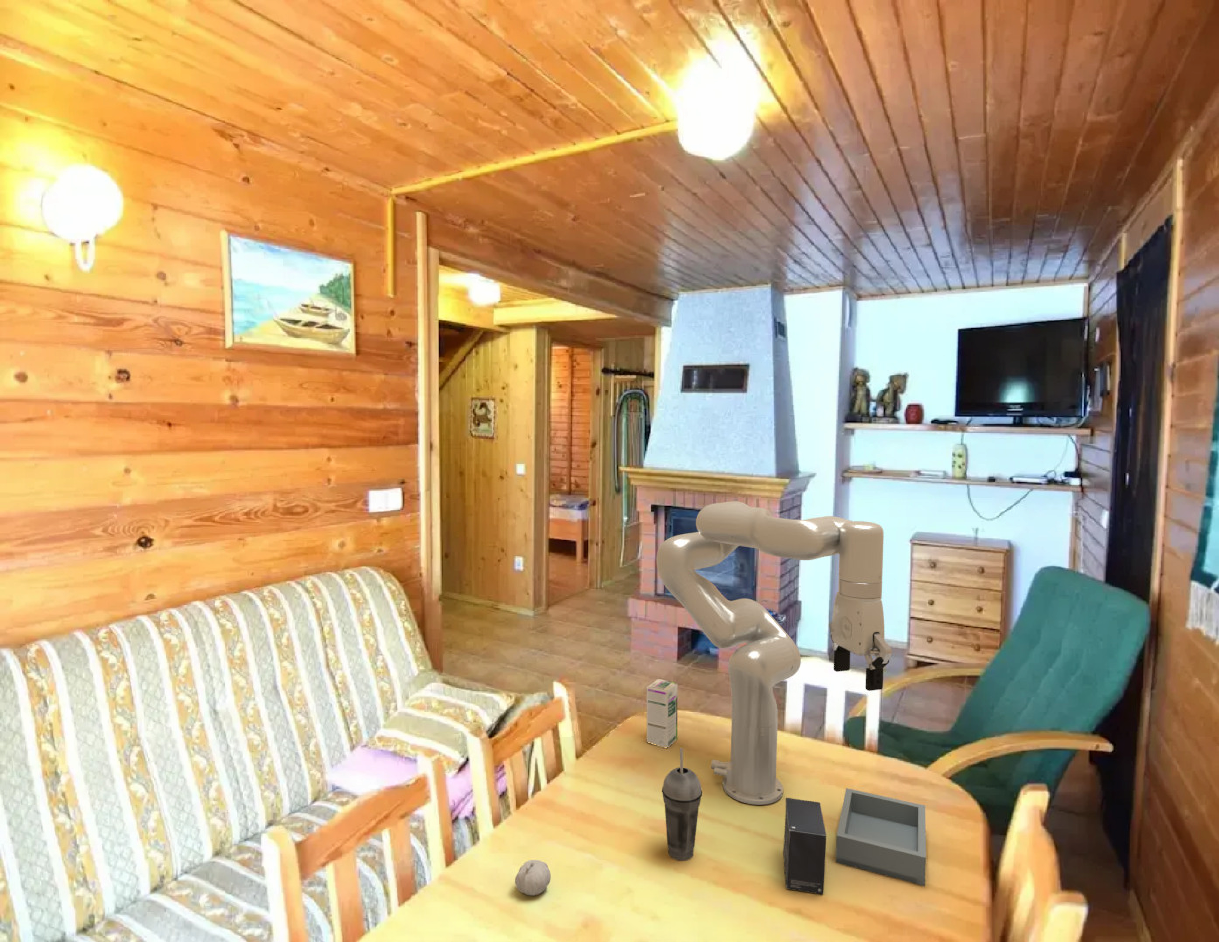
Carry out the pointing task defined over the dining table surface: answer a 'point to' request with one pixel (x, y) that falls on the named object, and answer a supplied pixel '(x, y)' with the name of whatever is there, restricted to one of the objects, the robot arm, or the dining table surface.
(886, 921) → the dining table surface
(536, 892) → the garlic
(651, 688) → the syrup box
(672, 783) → the beverage cup
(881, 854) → the crate
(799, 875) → the small box
